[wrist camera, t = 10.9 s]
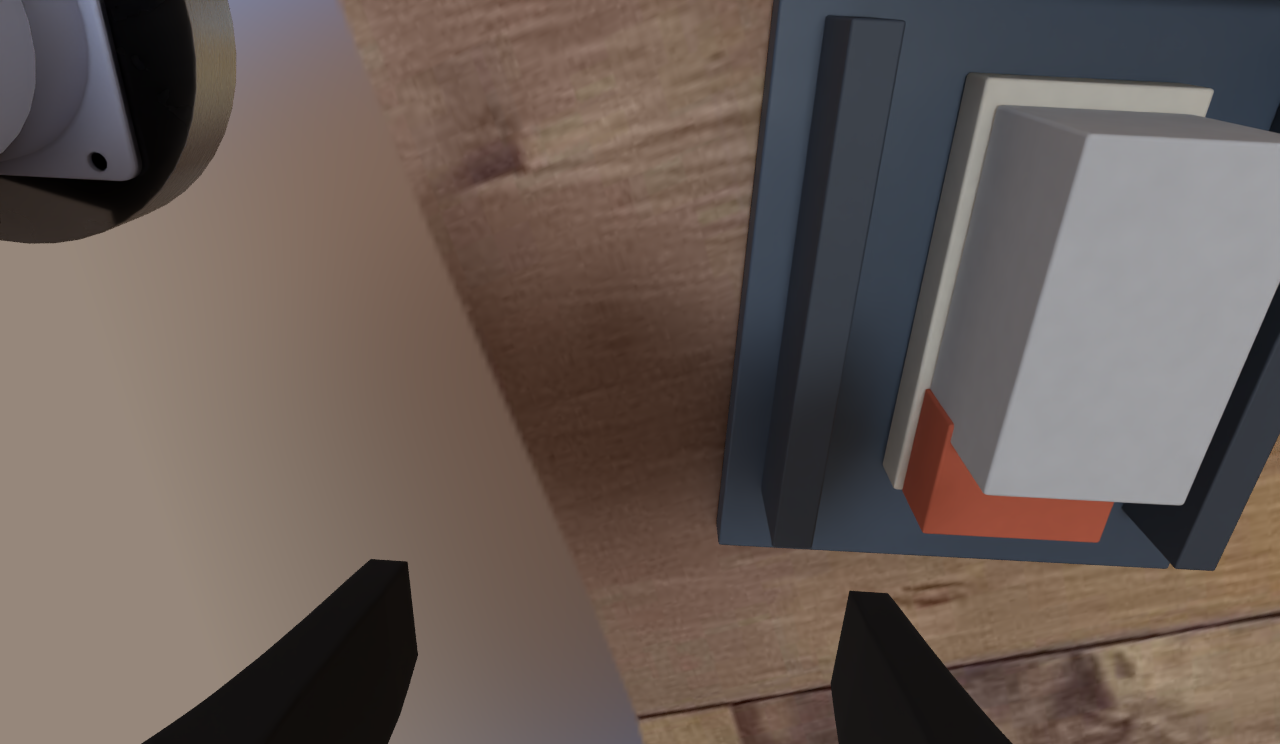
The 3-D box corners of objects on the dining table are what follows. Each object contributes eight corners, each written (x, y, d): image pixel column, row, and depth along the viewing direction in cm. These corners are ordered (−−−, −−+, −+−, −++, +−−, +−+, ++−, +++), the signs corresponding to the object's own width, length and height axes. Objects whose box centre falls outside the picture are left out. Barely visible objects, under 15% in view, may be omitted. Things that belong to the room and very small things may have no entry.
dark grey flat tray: (1148, 547, 23) (1225, 634, 20) (716, 524, 23) (724, 606, 20) (1404, -63, 16) (1586, -79, 13) (783, -94, 16) (812, -117, 13)
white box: (1050, 473, 21) (1156, 604, 16) (881, 464, 21) (941, 592, 16) (1180, 82, 16) (1374, 114, 12) (966, 72, 16) (1079, 99, 12)
